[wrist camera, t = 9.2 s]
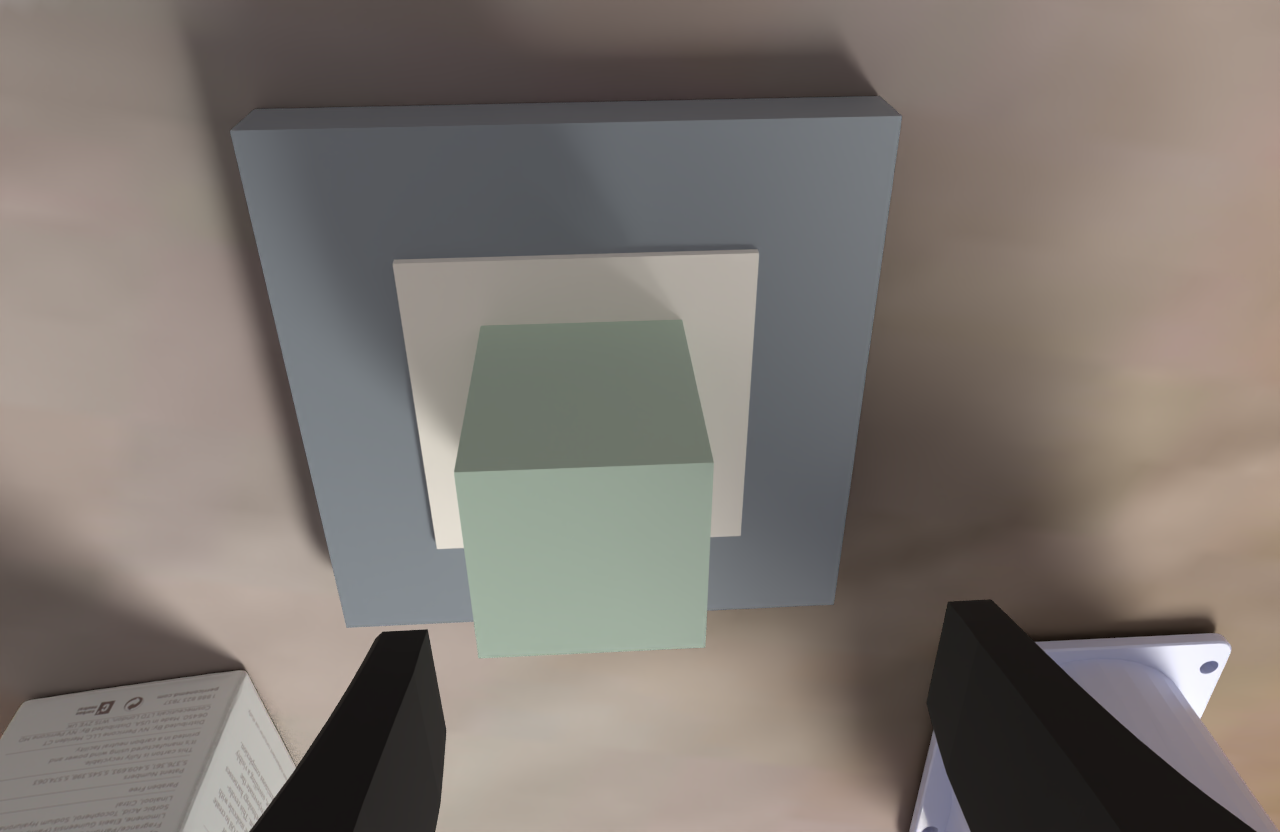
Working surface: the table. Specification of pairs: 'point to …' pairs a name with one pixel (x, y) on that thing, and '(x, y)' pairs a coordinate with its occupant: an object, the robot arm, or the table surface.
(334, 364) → the slate base
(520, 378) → the sage block
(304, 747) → the table surface
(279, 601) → the table surface
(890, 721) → the table surface
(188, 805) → the small box
